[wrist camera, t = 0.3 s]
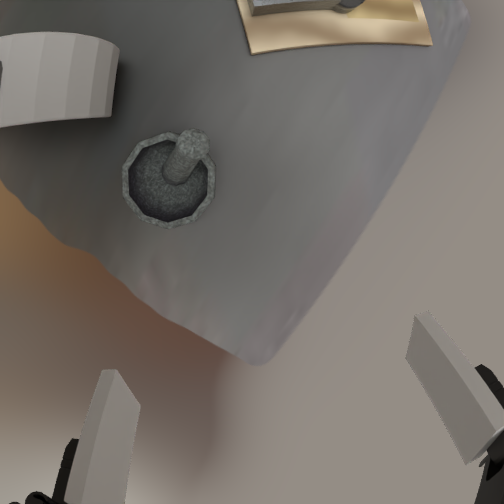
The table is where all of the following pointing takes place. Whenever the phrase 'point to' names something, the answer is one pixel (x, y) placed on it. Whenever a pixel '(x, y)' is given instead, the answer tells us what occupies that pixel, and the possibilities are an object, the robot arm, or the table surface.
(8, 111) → the alarm clock
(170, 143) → the mortar and pestle
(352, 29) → the board
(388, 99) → the table surface
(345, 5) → the latch bar
